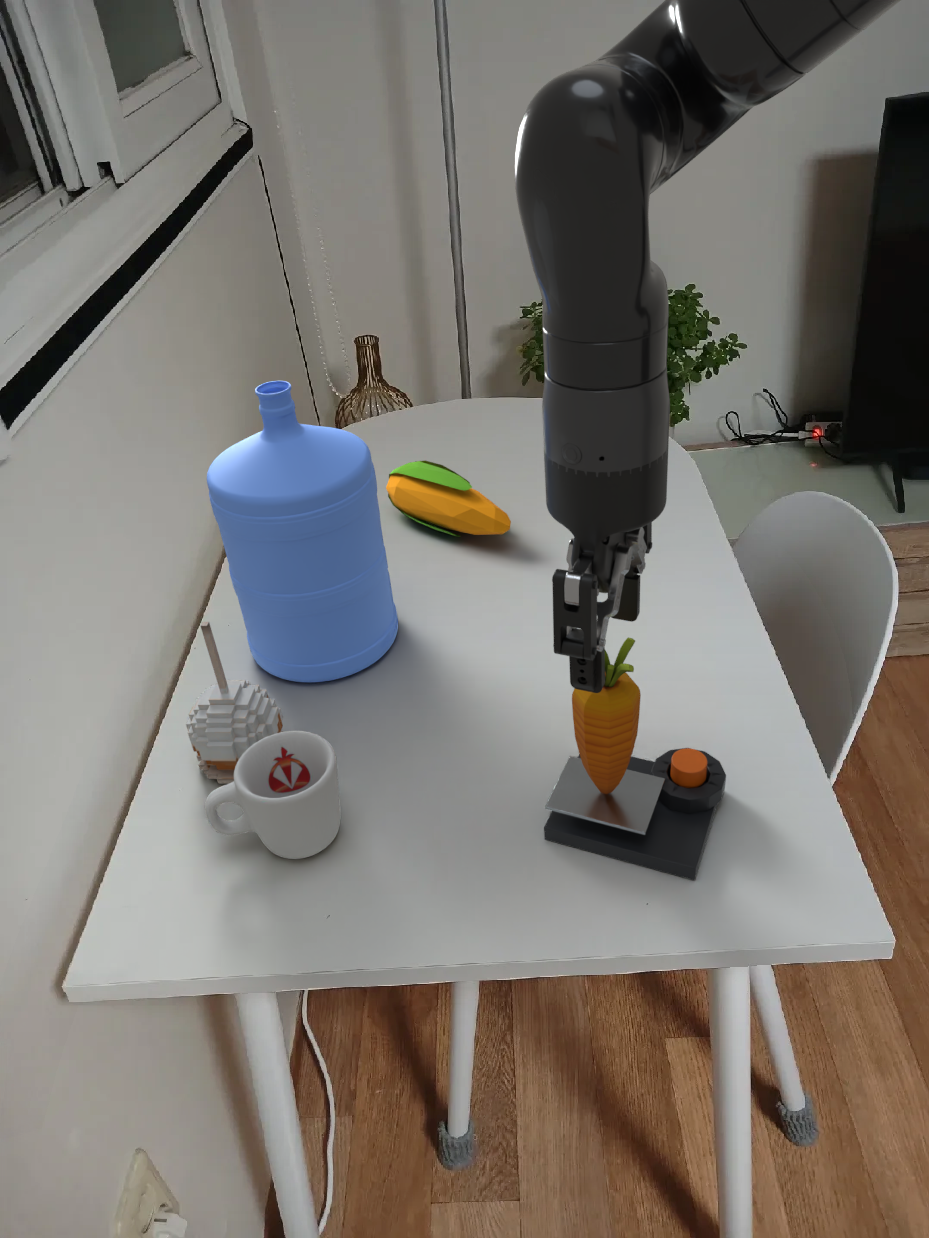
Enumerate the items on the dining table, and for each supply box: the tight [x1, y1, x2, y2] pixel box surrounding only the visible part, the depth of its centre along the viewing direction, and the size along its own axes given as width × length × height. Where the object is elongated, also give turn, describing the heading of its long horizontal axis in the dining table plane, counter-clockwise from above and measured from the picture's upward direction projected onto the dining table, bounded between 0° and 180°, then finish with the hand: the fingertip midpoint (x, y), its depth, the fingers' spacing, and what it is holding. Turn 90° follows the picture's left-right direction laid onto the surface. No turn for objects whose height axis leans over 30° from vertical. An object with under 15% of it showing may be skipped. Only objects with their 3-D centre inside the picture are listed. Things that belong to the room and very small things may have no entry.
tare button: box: [670, 747, 707, 788], centre depth 76 cm, size 3×3×2 cm
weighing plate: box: [544, 755, 665, 835], centre depth 75 cm, size 8×6×1 cm
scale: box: [543, 747, 727, 881], centre depth 77 cm, size 12×11×3 cm
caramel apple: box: [185, 621, 284, 784], centre depth 82 cm, size 8×8×15 cm
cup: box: [204, 730, 342, 860], centre depth 76 cm, size 11×8×8 cm
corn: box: [385, 460, 512, 538], centre depth 116 cm, size 7×8×20 cm
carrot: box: [571, 637, 642, 794], centre depth 71 cm, size 5×5×15 cm
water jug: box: [206, 380, 399, 683], centre depth 92 cm, size 16×16×28 cm
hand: (606, 650), depth 67 cm, fingers open, 8 cm apart
